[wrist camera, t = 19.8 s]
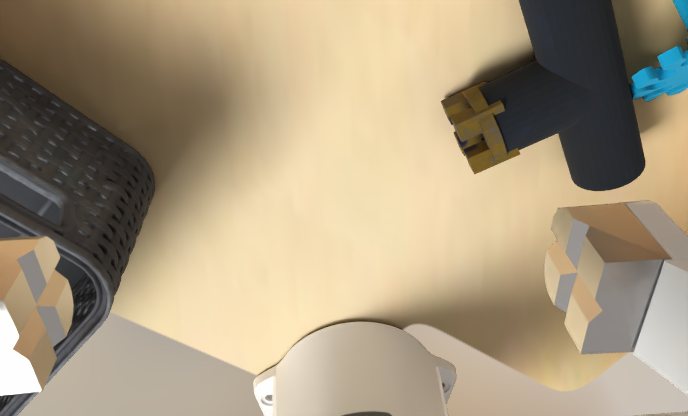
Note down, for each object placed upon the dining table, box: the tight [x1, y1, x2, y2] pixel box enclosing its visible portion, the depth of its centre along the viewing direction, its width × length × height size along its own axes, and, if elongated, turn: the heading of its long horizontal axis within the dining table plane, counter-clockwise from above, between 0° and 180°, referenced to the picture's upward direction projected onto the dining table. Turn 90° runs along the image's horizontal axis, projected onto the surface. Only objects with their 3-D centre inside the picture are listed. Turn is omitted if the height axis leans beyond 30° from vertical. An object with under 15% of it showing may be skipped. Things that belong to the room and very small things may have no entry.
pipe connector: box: [441, 0, 645, 191], centre depth 41 cm, size 12×5×15 cm
